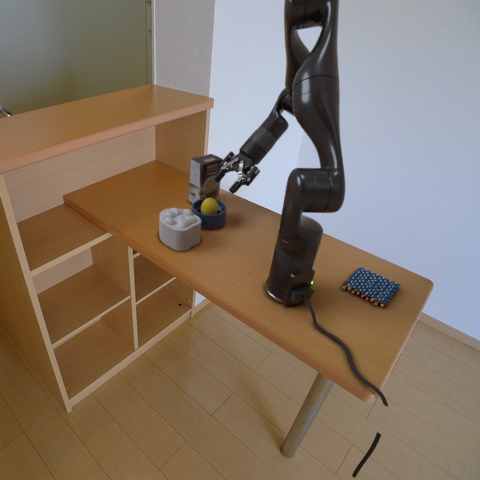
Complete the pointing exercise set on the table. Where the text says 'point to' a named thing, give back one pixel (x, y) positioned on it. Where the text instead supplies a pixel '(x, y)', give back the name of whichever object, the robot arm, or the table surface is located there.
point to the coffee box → (204, 177)
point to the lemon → (209, 207)
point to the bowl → (210, 220)
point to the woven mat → (371, 286)
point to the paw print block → (179, 228)
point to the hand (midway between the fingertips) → (223, 186)
